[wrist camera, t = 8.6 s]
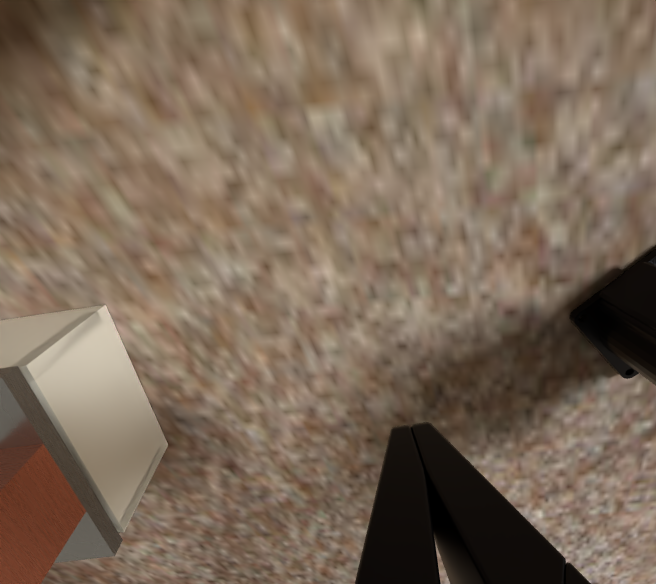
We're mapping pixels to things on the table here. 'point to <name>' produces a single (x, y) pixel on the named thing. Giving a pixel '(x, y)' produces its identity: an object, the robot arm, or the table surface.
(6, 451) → the lid
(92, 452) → the cream open box
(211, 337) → the table surface
